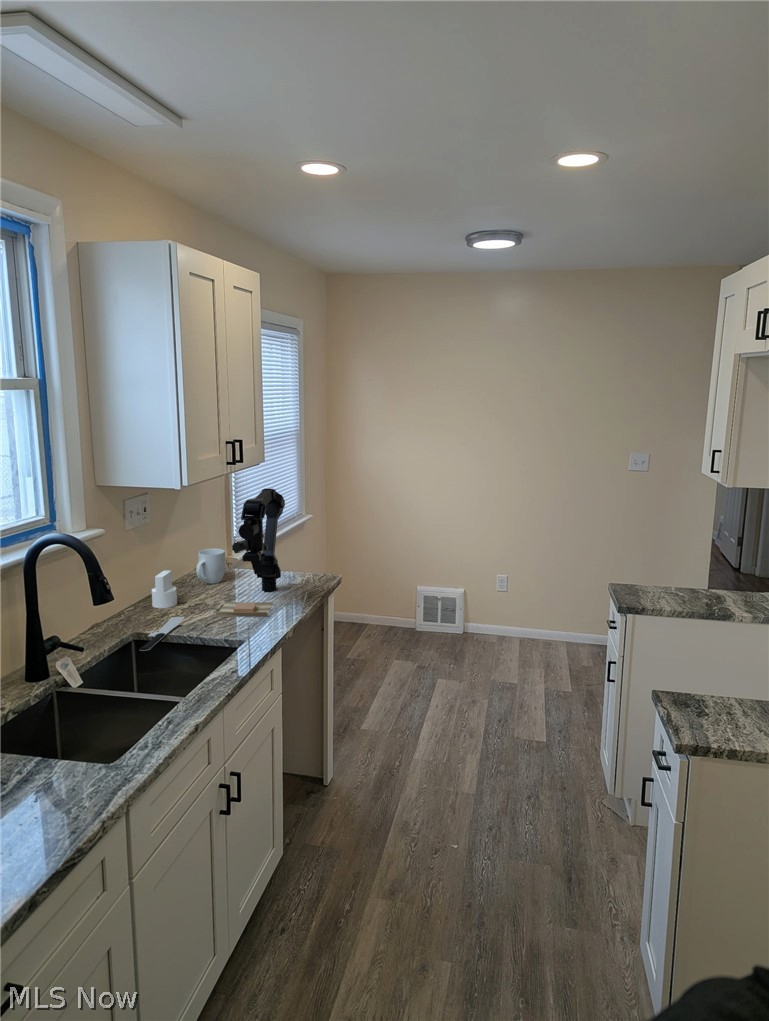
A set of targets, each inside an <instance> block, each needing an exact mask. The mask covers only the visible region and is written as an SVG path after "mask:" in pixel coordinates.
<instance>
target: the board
mask: <svg viewBox="0 0 769 1021" xmlns="http://www.w3.org/2000/svg"><path fill="white" fill-rule="evenodd" d="M237 603H256V608H255V610H254V612H234V607H235V606H236V604H237ZM273 604H274V602H271V601H270V602H267V601H266V602H264V601H263V602H261V601H259V602H255V601H254V602H253V601H251V602H246V601H245V602H244V601H243V602H242V601H241V602H239V601H238V602H237V601H235V602H232V601H231V602H230V601H229V602H228V601H226V602H224V604H223V606H222V607H221V608H220V610H219V611H216V612H215V617H217V618H219V617H222V618H223V617H224V618H226V617H227V618H228V617H229V618H232V617H233V618H236V617H237V618H238V617H239V618H240V617H241V618H243V617H244V618H250V617H251V618H252V617H253V618H258V617H259V618H263V617H264V618H268V616H269V613H270V611H271V609H272V606H273Z"/></svg>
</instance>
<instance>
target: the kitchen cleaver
mask: <svg viewBox="0 0 769 1021" xmlns="http://www.w3.org/2000/svg"><path fill="white" fill-rule="evenodd" d="M184 618H185V616H173V617H171V619H169V621H168V622H167V623H166V624H165V625H164V626H163V627H162V628H161V629H160V630H159V632H154V633H152V632H151V633H150V634H148V635H147V637H153V638H152V639H150V640H149V641H148V642H147V643H146V644H144V645H143V646H141V647H140V648H139V652H144V653H147V652H150V651H151V650H152V649H153V648H154V647H155V646H156V645H158V643H159V642H161V641H162V640H163V639H164V638H165V637H166V635H168V634H169V633H170V632H171V631H172V630H174V629H175V628H176V627H178V626H179V625H180V624H181V622H183V620H184Z"/></svg>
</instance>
